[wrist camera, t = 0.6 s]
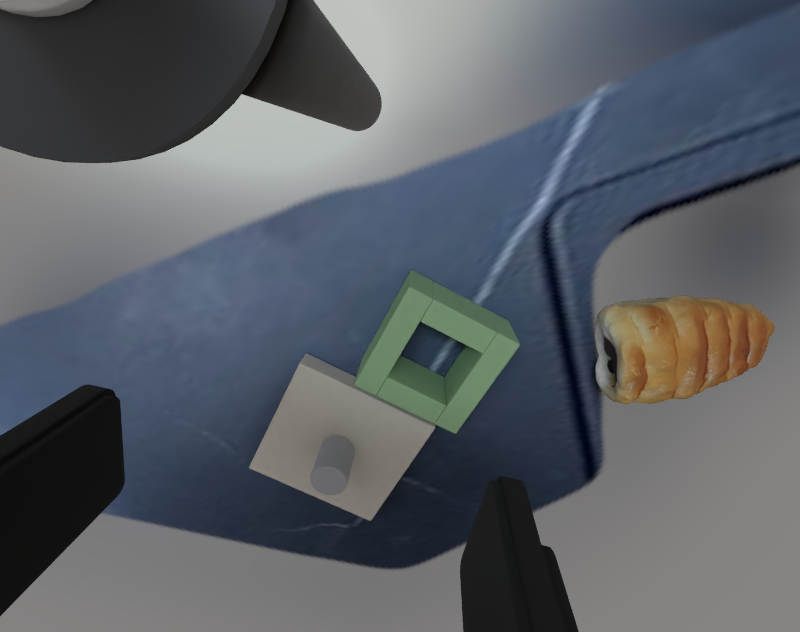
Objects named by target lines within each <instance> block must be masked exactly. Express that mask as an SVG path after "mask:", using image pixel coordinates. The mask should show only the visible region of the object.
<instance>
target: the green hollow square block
mask: <svg viewBox="0 0 800 632" xmlns="http://www.w3.org/2000/svg"><path fill="white" fill-rule="evenodd" d="M420 321H421V322H422V323H424V324H426V325H428V326H430V327H432V328H434V329H436V330H438V331H440V332H442V333H443V334H445V335H447V336H449V337H451V338H453V339H455V340H457V341H459V342H461V343H463V344H465V347H464V348H463V350H462V351H461V353H460V354H459V356H458V357H457V359H456V360H455V362H454V363H453V365H452V367H451V368H450V370H449V371H448V373H447V374H446V376H445V377H443V376H441V375H439V374H437V373H435V372H433V371H431V370H429V369H427V368H425V367H423V366H421V365H419V364H417V363H415V362H413V361H411V360H409V359H407V358H405V357H403V356H401V355H400V354H401V353H402V351H403V349H404V348H405V346H406V344H407V343H408V341H409V339H410V338H411V336H412V334H413V333H414V331H415V329H416V328H417V326H418V324H419V323H420ZM519 346H520V343H519V341H518V339H517V337H516V335H515V333H514V331H513V329H512V327H511V325H510V323H509V321H508V320H506V319H504V318H502V317H500V316H499V315H497V314H495V313H493V312H491V311H488V310H487V309H485V308H484V307H482V306H480V305H478V304H476V303H474V302H472V301H470V300H468V299H467V298H465V297H463V296H461V295H459V294H457V293H455V292H453V291H451V290H450V289H448V288H446V287H444V286H442V285H440V284H438V283H436V282H434V281H432V280H431V279H429V278H427V277H425V276H423V275H421V274H419V273H417V272H415V271H413V270H411V271H410V273H409V274H408V276H407V278H406V280H405V282H404V283H403V285H402V287H401V289H400V291H399V293H398V294H397V296H396V298H395V300H394V302H393V303H392V305H391V307H390V309H389V311H388V312H387V314H386V316H385V318H384V320H383V321H382V323H381V325H380V327H379V329H378V330H377V332H376V334H375V336H374V338H373V339H372V341H371V343H370V345H369V347H368V348H367V350H366V352H365V354H364V356H363V357H362V360H361V364H360V367H359V370H358V373H357V376H356V379H355V382H354V386H356V387H359V388H361V389H363V390H365V391H367V392H369V393H371V394H373V395H377V396H378V397H380V398H382V399H384V400H386V401H388V402H390V403H392V404H394V405H396V406H398V407H401V408H403V409H405V410H407V411H409V412H411V413H413V414H415V415H417V416H419V417H421V418H423V419H426V420H428V421H430V422H432V423H435V424H436V425H438V426H440V427H442V428H444V429H446V430H448V431H450V432H452V433H454V434H456V433H457V432H458V430H459V429H460V427H461V426H462V425H463V423H464V422H465V421H466V419H467V418H468V416H469V415H470V414H471V412H472V411H473V410H474V408H475V407H476V405H477V404H478V403H479V401H480V400H481V399H482V397H483V396H484V394H485V393H486V392H487V390H488V389H489V387H490V386H491V385H492V383H493V382H494V381H495V379H496V378H497V376H498V375H499V374H500V372H501V371H502V370H503V368H504V367H505V365H506V364H507V363H508V361H509V360H510V359H511V357H512V356H513V354H514V353H515V352H516V350H517V349H518V347H519Z"/></svg>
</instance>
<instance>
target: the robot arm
mask: <svg viewBox="0 0 800 632" xmlns="http://www.w3.org/2000/svg"><path fill="white" fill-rule="evenodd" d="M91 1H93V0H0V9H1V10H4V11H7V12H10V13H13V14H19V15H25V16H32V17H48V16H60V15H63V14H66V13H69V12H72V11H75V10H78V9H80V8H82V7H84V6H85V5H87V4H88V3H90V2H91ZM124 482H125V475H124V458H123V442H122V425H121V409H120V400H119V398H118V397H116V396H115V393H114V391H113V390H111V389H107V388H102V387H98V386H93V385H84V386H81V387H79V388H78V389H76V390H74V391H73V392H71V393H70V394H68V395H66V396H65V397H63V398H61V399H60V400H58V401H56V402H55V403H53V404H52V405H50V406H48V407H47V408H45V409H43V410H42V411H40V412H38V413H37V414H35V415H34V416H32V417H30V418H29V419H27V420H25V421H24V422H22V423H20V424H19V425H17V426H16V427H14V428H12V429H11V430H9V431H7V432H6V433H4V434H2V435H1V436H0V616H1V615H2V614H3V613H4V612H5V611H6V610H7V609H8V608H9V607H10V606H11V605H12V603H13V602H14V601H15V600H16V599H17V598H18V597H19V596H20V595H21V594H22V593H23V592H24V591H25V590H26V589H27V588H28V587H29V586H30V585H31V584H32V583H33V582H34V581H35V580H36V579H37V578H38V577H39V576H40V575H41V574H42V573H43V572H44V571H45V570H46V569H47V568H48V567H49V566H50V565H51V564H52V562H54V561H55V559H56V558H57V557H58V556H59V555H60V554H61V553H62V552H63V551H64V550H65V549H66V548H67V547H68V546H69V545H70V544H71V543H72V542H73V541H74V540H75V539H76V538H77V537H78V536H79V535H80V534H81V533H82V532H83V531H84V530H85V529H86V528H87V527H88V526H89V525H90V524H91V523H92V522H93V520H95V518H96V517H97V516H98V515H99V514H100V513H101V512H102V511H103V510H104V509H105V508H106V507H107V506H108V505H109V504H110V503H111V502H112V501H113V500H114V499H115V498H116V497H117V496H118V495H119V493H120V492H121V490H122V488H123V486H124ZM460 578H461V595H462V612H463V631H464V632H578V629H577V625H576V622H575V619H574V616H573V613H572V609H571V606H570V603H569V599H568V596H567V593H566V589H565V586H564V583H563V580H562V576H561V573H560V570H559V566H558V563H557V560H556V557H555V555H554V552H553V550H552V549H551V548H550V547H547V546H543V545H541V542H540V539H539V535H538V531H537V528H536V524H535V521H534V517H533V513H532V510H531V506H530V503H529V499H528V495H527V492H526V488H525V485H524V482H523V481H521V480H516V479H512V478H507V477H503V476H499V477H498V478H497V480H496V481H492V480H490V481H489V483H488V485H487V488H486V490H485V493H484V496H483V499H482V502H481V505H480V507H479V510H478V513H477V516H476V519H475V521H474V524H473V527H472V530H471V533H470V536H469V538H468V541H467V544H466V547H465V550H464V552H463V556H462V559H461V566H460Z"/></svg>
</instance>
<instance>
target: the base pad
mask: <svg viewBox="0 0 800 632" xmlns="http://www.w3.org/2000/svg"><path fill="white" fill-rule="evenodd" d="M355 379H356V377H355V376H353V375H351V374H349V373H347V372H345V371H343V370H341V369H338V368H336V367H334V366H332V365H330V364H328V363H326V362H324V361H322V360H320V359H318V358H316V357H314V356H312V355H309V354H307V353H306V354H305V355H304V357H303V358H302V360H301V362H300V363H299V365H298V368H297V370H296V372H295V374H294V376H293V378H292V380H291V382H290V384H289V386H288V388H287V390H286V392H285V394H284V396H283V398H282V400H281V402H280V405H279V407H278V409H277V411H276V413H275V415H274V417H273V419H272V421H271V423H270V425H269V427H268V429H267V431H266V433H265V435H264V437H263V440H262V442H261V444H260V446H259V448H258V450H257V452H256V454H255V456H254V458H253V460H252V462H251V464H250V466H249V468H250V469H252V470H255V471H257V472H259V473H261V474H264V475H266V476H268V477H271V478H273V479H275V480H277V481H280V482H282V483H284V484H287V485H289V486H291V487H293V488H296V489H298V490H300V491H303V492H305V493H307V494H309V495H312V496H314V497H316V498H319V499H321V500H323V501H325V502H328V503H330V504H332V505H335V506H337V507H339V508H341V509H344V510H346V511H348V512H351V513H353V514H355V515H357V516H360V517H362V518H364V519H367V520H369V521H371V520H372V519H373V517H374V516H375V514H376V513H377V511H378V510H379V508H380V507H381V506H382V504H383V503H384V501H385V500H386V498H387V497H388V496H389V494H390V493H391V491H392V490H393V488H394V487H395V485H396V484H397V483H398V481H399V480H400V478H401V477H402V475H403V474H404V472H405V471H406V470H407V468H408V467H409V465H410V464H411V462H412V461H413V460H414V458H415V457H416V455H417V454H418V452H419V451H420V449H421V448H422V447H423V445H424V444H425V442H426V441H427V439H428V438H429V436H430V435H431V434H432V432H433V431H434V429H435V423H432V422H430V421H428V420H426V419H423V418H421V417H419V416H417V415H415V414H413V413H411V412H409V411H407V410H405V409H403V408H401V407H398V406H396V405H394V404H392V403H390V402H388V401H386V400H384V399H382V398H380V397H378V396H377V395H373V394H371V393H369V392H367V391H365V390H363V389H361V388H359V387H356V386H354V382H355Z"/></svg>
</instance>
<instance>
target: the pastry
mask: <svg viewBox="0 0 800 632" xmlns="http://www.w3.org/2000/svg"><path fill="white" fill-rule="evenodd" d="M774 328H775V327H774V324H773V322H771V320H770V319H768V318H767V317H766V316H765V315H764V314H762V312H761V311H759V310H758V309H757V308H756V307H754V306H753V305H749V304H739V303H734V302H726V301H724V300H721V299H718V298H695V297H691V296H687V295H680V296H672V297H670V298H658V299H646V300H637V301H622V302H618V303H615V304H613V305H610V306H607V307H605V308H604V309H603V310H601V311H600V312H599V314H598V315H597V320H596V324H595V335H594V338H595V341H596V348H597V352H598V355H599V357H598V361H597V363H596V368H595V372H596V381H597V383H598V385H599V387H600V388H601V390H602V391H603V392H604V394H605V395H606V396H607V397H608V398H610V399H611V400H612V401H615V402H619V403H623V404H628V403H630V402H640V403H657V402H661V401H664V400H668V399H674V398H677V399H687V398H689V397H691V396H693V395H694V394H697V393H700V392H702V391H704V390H705V389H706V388H709V387H712V386H716V385H718V384H719V383H721V382H726V381H729V380H731V379H732V378H734V377H736V376H739V375H741V374H743V373H744V372H745V371H747V370H748V369H750V368H753V367H755V366H756V365H757V364H758V363H759V362H760V361H761V359H762V357H763V355H764V353H765V351H766V347H767V344H768V339H769V337H770V335H771V334H772V333H773V331H774Z"/></svg>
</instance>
